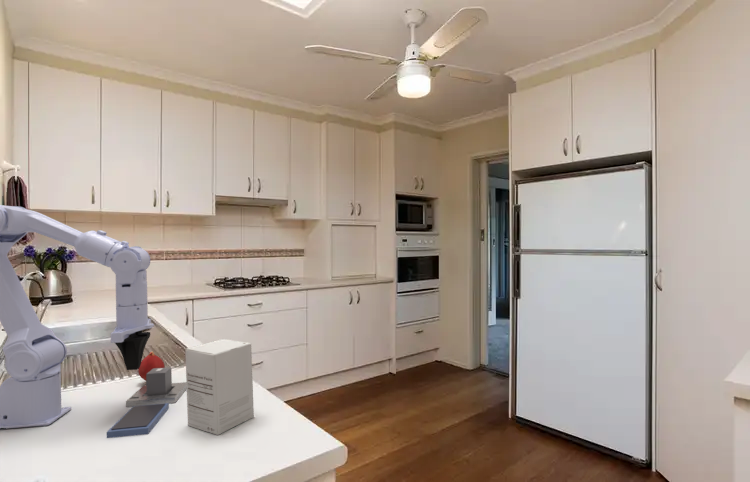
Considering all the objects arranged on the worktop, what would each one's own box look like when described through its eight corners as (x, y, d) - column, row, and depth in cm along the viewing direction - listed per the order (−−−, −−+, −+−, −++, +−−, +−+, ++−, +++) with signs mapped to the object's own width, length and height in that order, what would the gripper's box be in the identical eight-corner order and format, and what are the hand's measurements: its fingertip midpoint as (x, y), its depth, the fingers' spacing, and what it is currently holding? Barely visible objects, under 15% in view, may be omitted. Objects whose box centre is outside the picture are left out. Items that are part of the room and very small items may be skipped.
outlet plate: (125, 406, 89) (125, 400, 89) (144, 390, 99) (143, 384, 99) (175, 402, 91) (175, 396, 91) (188, 387, 101) (188, 381, 101)
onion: (133, 385, 103) (132, 353, 103) (155, 378, 108) (154, 347, 108) (148, 388, 100) (147, 355, 100) (169, 381, 105) (169, 349, 105)
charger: (146, 400, 93) (146, 373, 93) (153, 394, 97) (153, 367, 97) (165, 399, 93) (165, 371, 93) (171, 392, 97) (171, 366, 97)
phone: (106, 440, 75) (106, 430, 75) (133, 413, 87) (133, 405, 87) (148, 436, 76) (148, 426, 76) (169, 410, 88) (168, 402, 88)
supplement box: (224, 408, 87) (223, 337, 87) (255, 417, 83) (253, 342, 83) (185, 425, 79) (183, 347, 79) (216, 436, 75) (214, 353, 75)
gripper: (137, 309, 80) (139, 379, 81) (164, 298, 95) (165, 358, 95) (98, 310, 79) (99, 381, 80) (131, 299, 94) (132, 359, 94)
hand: (133, 368), depth 87 cm, fingers closed
